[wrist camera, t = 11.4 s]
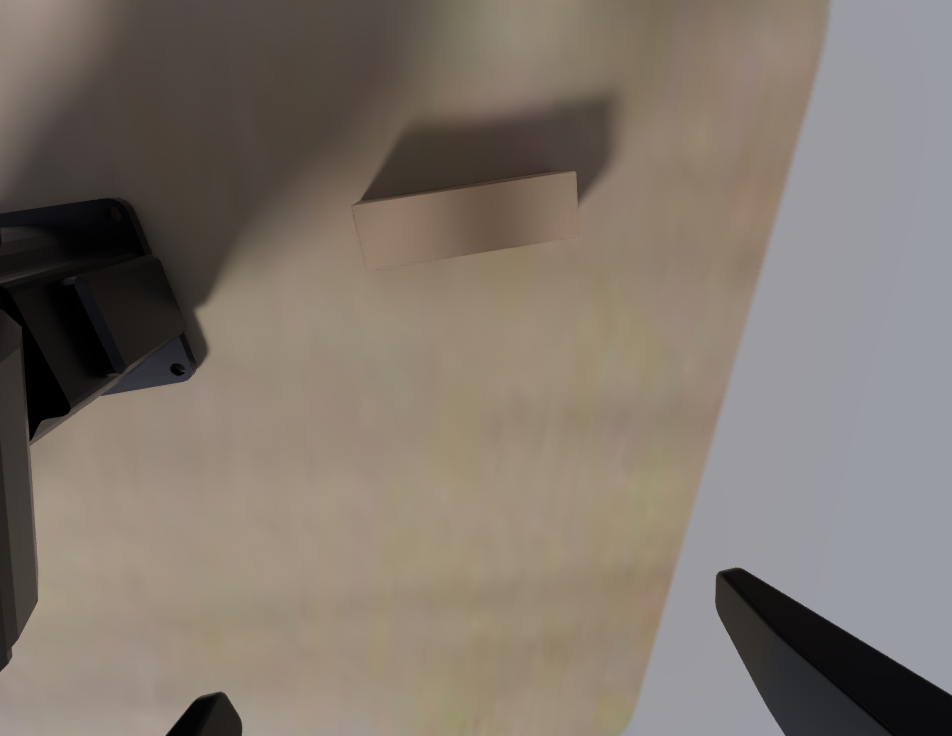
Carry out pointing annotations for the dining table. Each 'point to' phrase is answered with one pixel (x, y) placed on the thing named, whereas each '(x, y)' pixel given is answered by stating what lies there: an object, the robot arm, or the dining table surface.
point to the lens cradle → (467, 219)
